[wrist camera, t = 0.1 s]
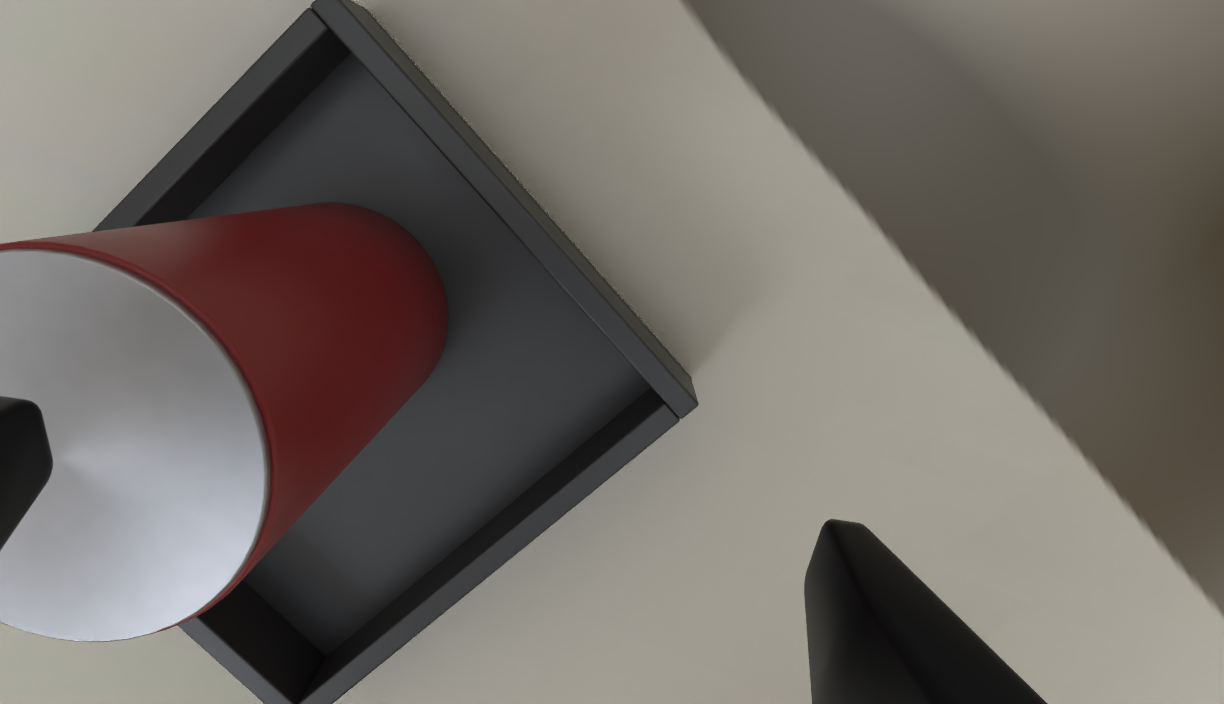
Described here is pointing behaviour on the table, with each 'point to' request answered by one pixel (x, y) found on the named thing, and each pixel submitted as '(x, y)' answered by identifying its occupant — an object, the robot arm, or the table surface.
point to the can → (198, 399)
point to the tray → (461, 381)
